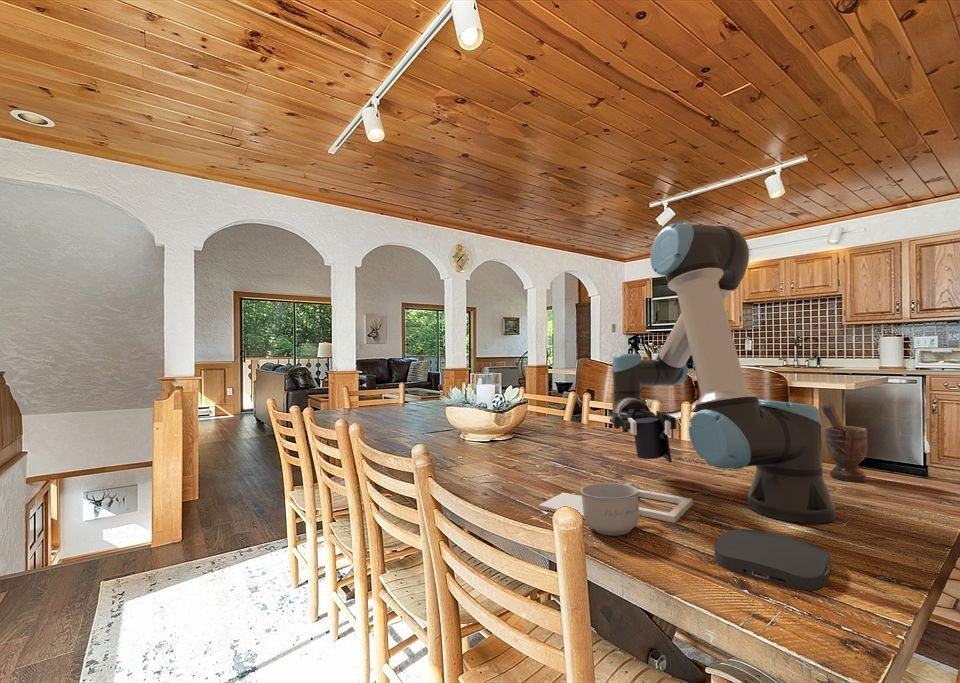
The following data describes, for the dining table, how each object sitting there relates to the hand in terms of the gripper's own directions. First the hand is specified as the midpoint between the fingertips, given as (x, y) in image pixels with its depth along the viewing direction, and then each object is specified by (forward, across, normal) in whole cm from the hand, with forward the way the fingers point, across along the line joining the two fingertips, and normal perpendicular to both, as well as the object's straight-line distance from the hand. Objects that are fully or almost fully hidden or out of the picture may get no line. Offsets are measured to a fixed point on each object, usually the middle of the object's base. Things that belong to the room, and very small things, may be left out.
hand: (651, 428), depth 95 cm
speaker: (-5, -1, -8) cm, 9 cm away
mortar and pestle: (-31, -53, -18) cm, 64 cm away
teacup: (+8, +9, -18) cm, 22 cm away
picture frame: (-5, 0, -18) cm, 19 cm away
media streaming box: (+20, -14, -19) cm, 31 cm away
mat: (-3, +17, -18) cm, 25 cm away
